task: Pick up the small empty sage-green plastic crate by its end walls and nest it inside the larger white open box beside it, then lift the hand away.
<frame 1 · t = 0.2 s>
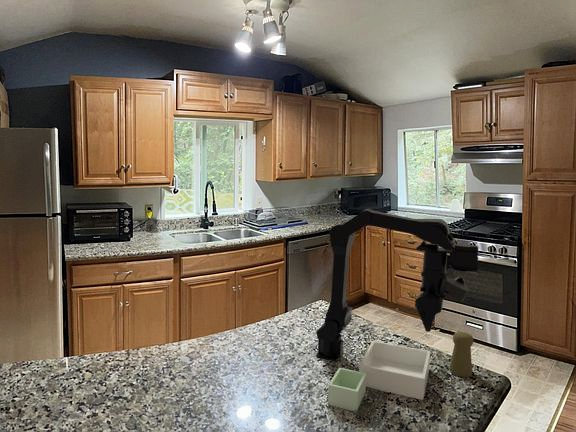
hand: (430, 325, 111), 14 cm above the countertop, fingers open, 9 cm apart
white open box: (395, 377, 112), on the countertop
sage crate: (347, 398, 102), on the countertop
olive pepper shaker: (460, 372, 116), on the countertop
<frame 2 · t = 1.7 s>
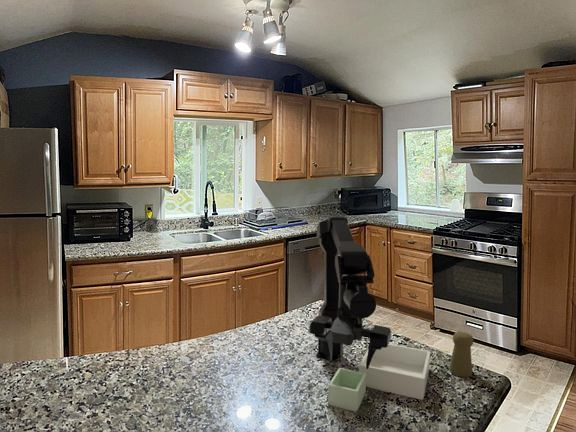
hand: (348, 364, 101), 9 cm above the countertop, fingers open, 9 cm apart
nothing on the countertop moved.
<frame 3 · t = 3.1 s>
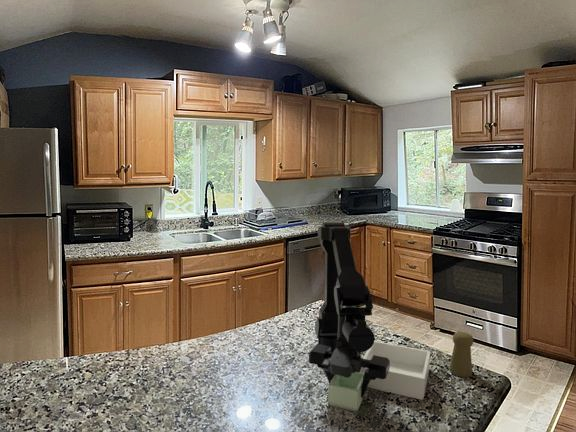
hand: (347, 393, 102), 1 cm above the countertop, fingers closed on sage crate, 7 cm apart
sage crate: (347, 398, 102), on the countertop, touching gripper
everything else where it was.
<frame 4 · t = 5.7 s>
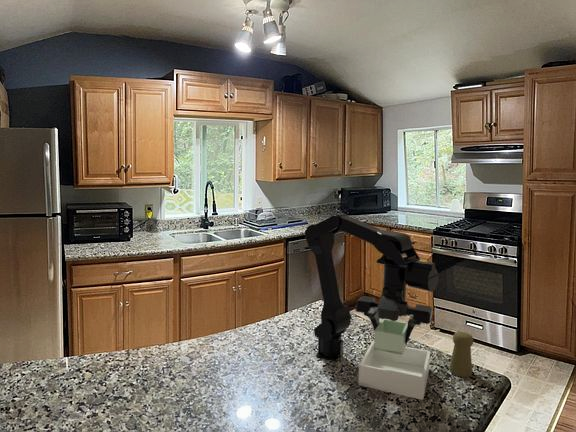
hand: (391, 340, 109), 11 cm above the countertop, fingers closed on sage crate, 7 cm apart
sage crate: (391, 345, 110), point 10 cm above the countertop, touching gripper
everything else where it was.
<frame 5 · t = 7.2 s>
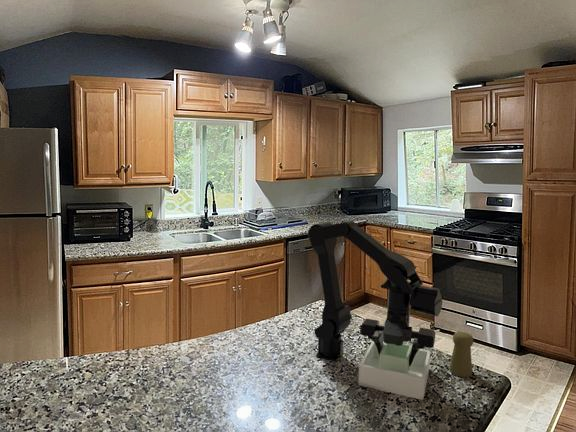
hand: (395, 362, 112), 4 cm above the countertop, fingers closed on sage crate, 7 cm apart
sage crate: (395, 367, 112), point 3 cm above the countertop, touching gripper
everything else where it was.
when the fingers open (4 cm above the countertop, at t = 8.2 s): sage crate drops 2 cm, resting on white open box.
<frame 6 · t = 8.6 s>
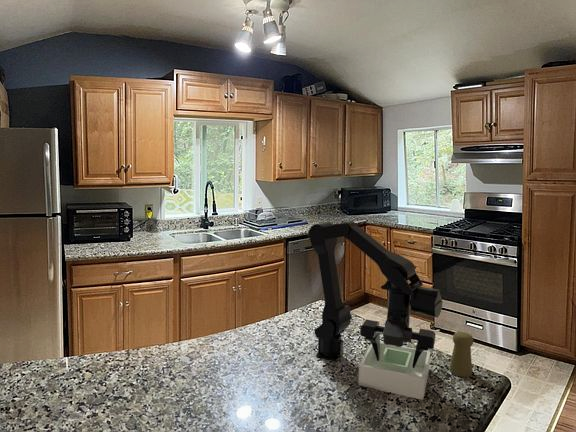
hand: (395, 363, 112), 4 cm above the countertop, fingers open, 9 cm apart
sage crate: (395, 374, 112), point 1 cm above the countertop, touching white open box
everything else where it was.
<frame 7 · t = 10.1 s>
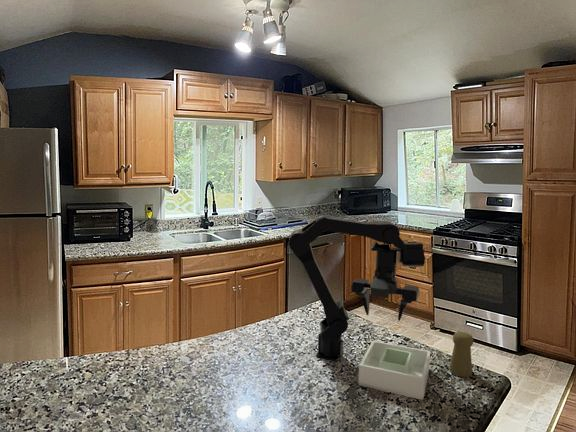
hand: (383, 317, 123), 12 cm above the countertop, fingers open, 9 cm apart
nothing on the countertop moved.
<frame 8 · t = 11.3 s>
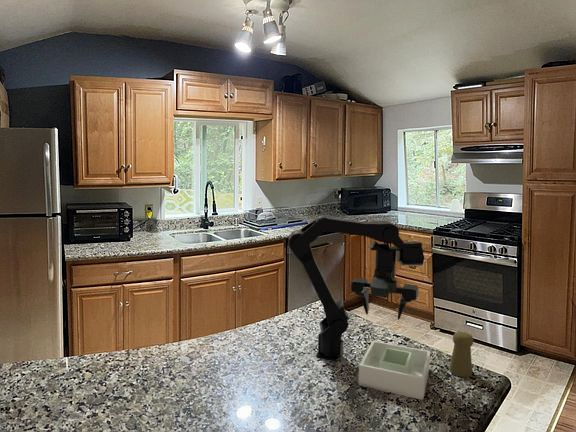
hand: (382, 316, 123), 12 cm above the countertop, fingers open, 9 cm apart
nothing on the countertop moved.
at the end: sage crate inside the target area on the white open box (0.0 cm from its centre), point 0.8 cm above the white open box's base; sage crate tilted 0°; the gripper is holding nothing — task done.
